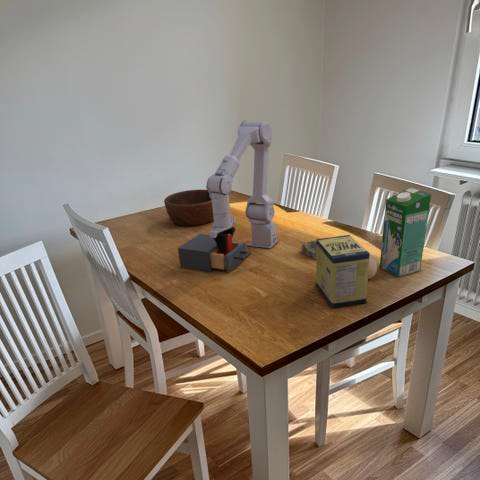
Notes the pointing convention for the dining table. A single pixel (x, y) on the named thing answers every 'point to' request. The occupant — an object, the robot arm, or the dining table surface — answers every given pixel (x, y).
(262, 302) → the dining table surface
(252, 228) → the robot arm
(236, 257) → the drawer
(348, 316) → the dining table surface
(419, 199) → the milk carton
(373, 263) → the egg
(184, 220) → the wooden bowl
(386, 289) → the dining table surface
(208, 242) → the cabinet
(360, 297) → the protein box
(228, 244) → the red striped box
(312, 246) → the egg carton
